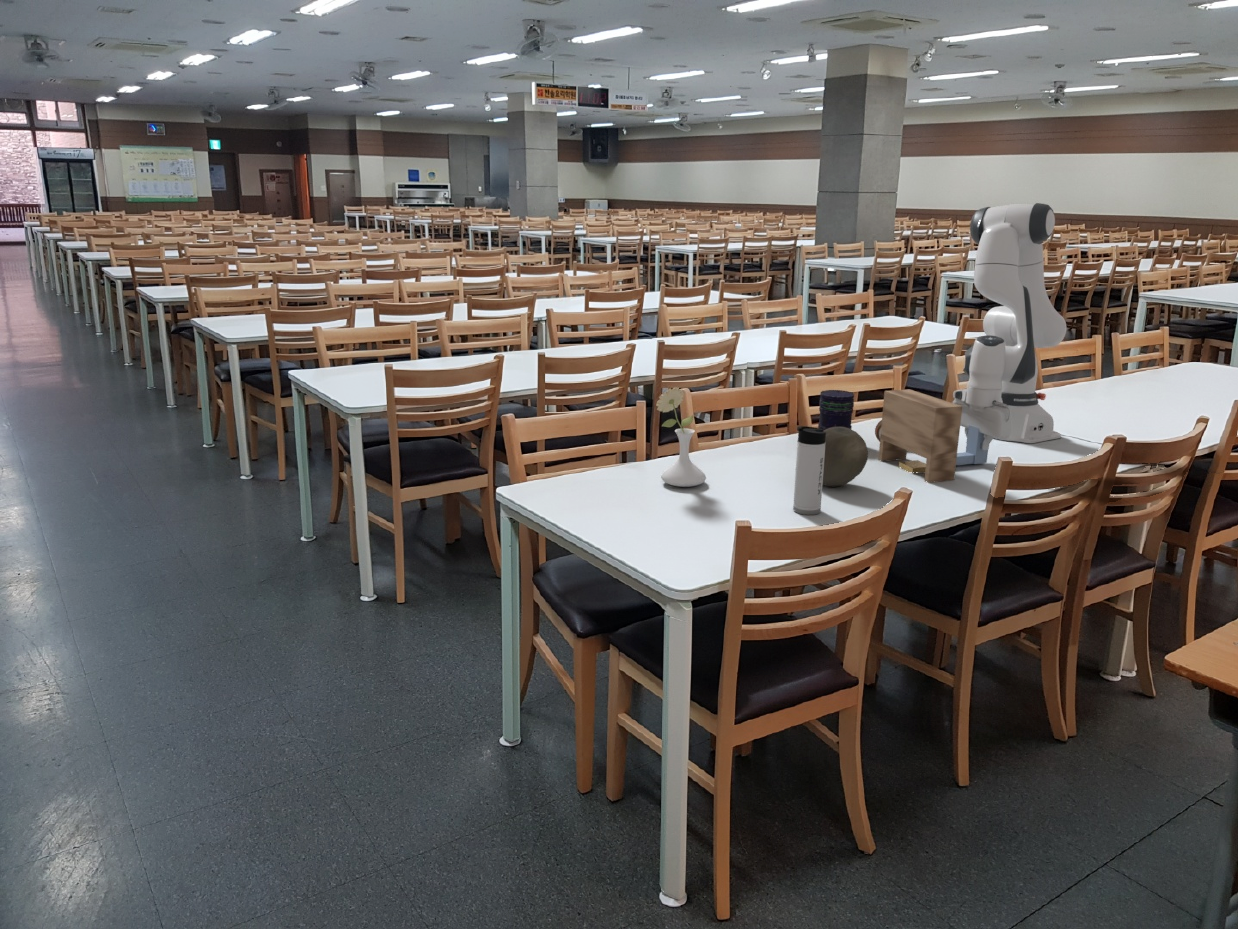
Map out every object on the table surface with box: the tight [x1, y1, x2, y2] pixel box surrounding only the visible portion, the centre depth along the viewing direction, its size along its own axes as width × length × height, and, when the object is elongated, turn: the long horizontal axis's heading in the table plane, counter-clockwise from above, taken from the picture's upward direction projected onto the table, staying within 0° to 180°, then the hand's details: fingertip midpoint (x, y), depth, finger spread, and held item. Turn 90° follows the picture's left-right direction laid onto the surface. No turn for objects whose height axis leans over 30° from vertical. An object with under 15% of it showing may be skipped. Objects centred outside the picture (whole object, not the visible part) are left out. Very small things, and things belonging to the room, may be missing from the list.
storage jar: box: [817, 389, 855, 431], centre depth 272 cm, size 10×10×15 cm
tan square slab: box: [898, 459, 926, 474], centre depth 248 cm, size 6×6×2 cm
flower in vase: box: [655, 386, 707, 488], centre depth 230 cm, size 13×11×25 cm
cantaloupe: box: [822, 427, 869, 488], centre depth 232 cm, size 14×14×15 cm
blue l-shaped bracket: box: [956, 425, 989, 466], centre depth 251 cm, size 16×4×10 cm, turn 109°
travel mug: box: [792, 425, 826, 516], centre depth 212 cm, size 6×7×20 cm
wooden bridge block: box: [877, 389, 962, 483], centre depth 245 cm, size 8×22×20 cm, turn 19°
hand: (977, 446), depth 253 cm, fingers closed on blue l-shaped bracket, 4 cm apart
